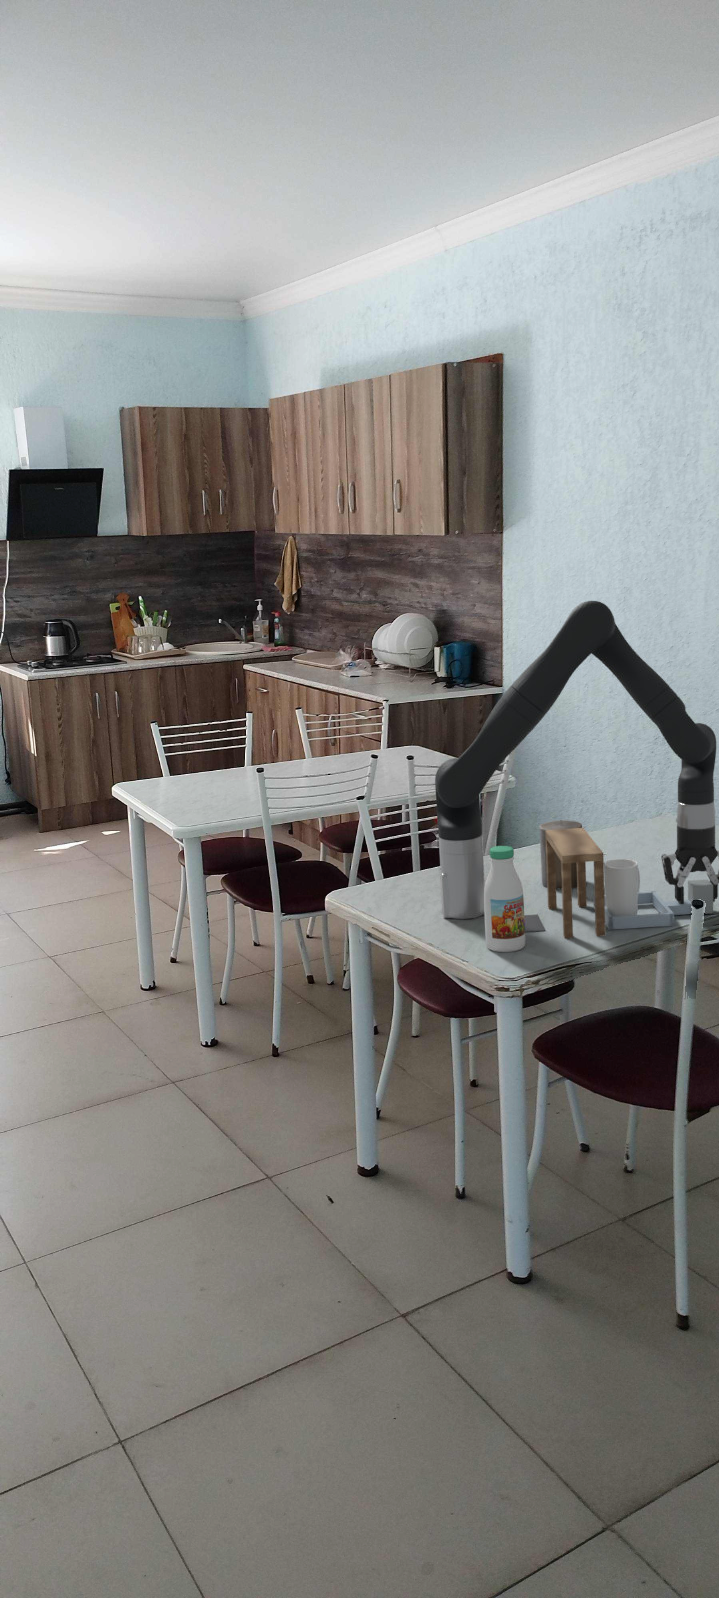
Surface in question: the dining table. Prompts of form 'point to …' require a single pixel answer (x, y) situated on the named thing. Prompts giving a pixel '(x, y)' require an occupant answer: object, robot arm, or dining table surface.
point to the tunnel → (581, 850)
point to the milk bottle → (503, 903)
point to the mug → (621, 886)
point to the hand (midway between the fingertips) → (696, 901)
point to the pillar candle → (555, 826)
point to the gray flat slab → (533, 923)
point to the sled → (663, 907)
